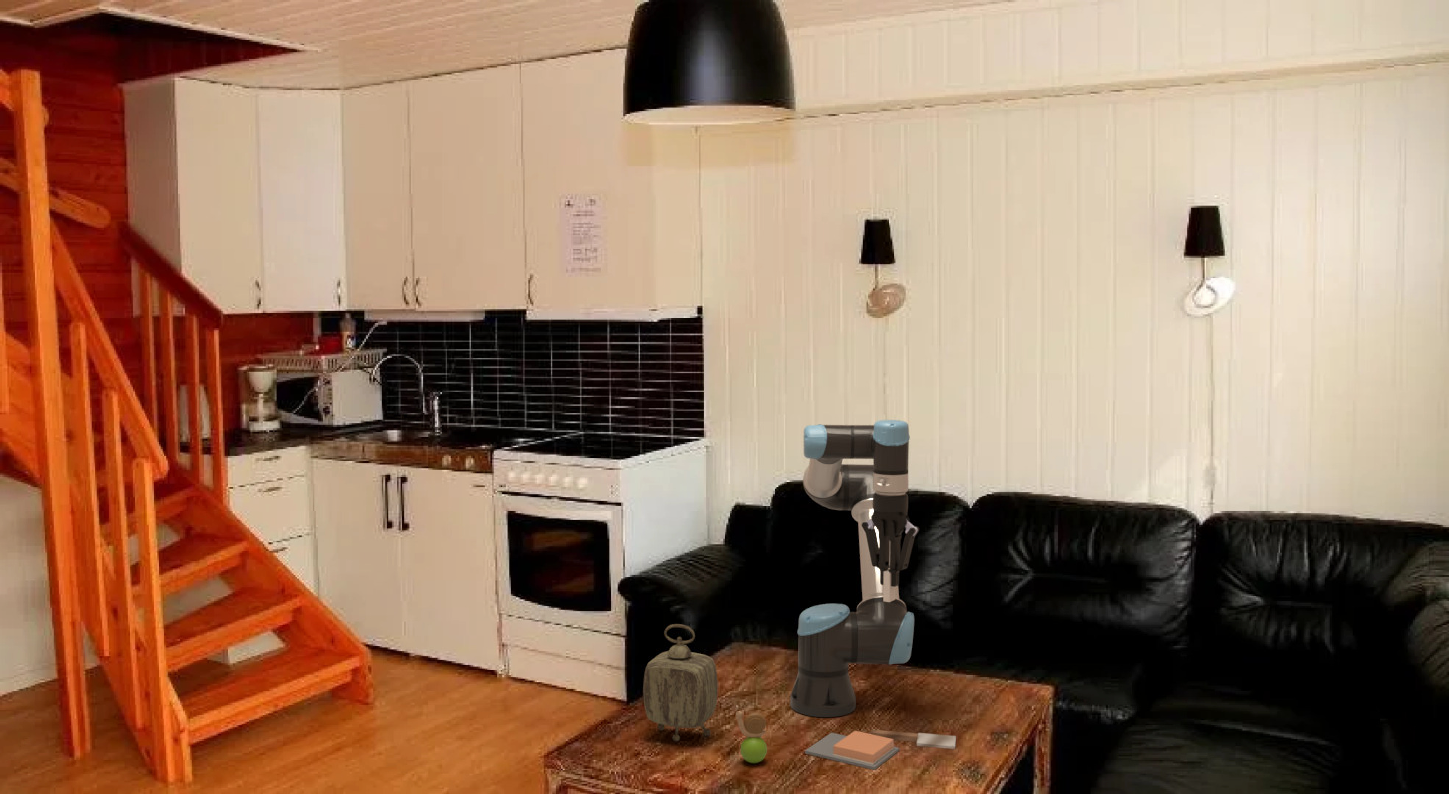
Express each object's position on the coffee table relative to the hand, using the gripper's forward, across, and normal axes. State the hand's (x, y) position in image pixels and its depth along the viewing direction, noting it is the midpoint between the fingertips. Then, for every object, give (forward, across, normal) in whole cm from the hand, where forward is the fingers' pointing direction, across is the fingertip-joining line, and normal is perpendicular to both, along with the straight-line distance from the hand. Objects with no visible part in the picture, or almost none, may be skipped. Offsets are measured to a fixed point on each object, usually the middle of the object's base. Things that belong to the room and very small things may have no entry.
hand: (889, 600), depth 260 cm
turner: (+30, +6, -1) cm, 30 cm away
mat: (+30, -1, -14) cm, 33 cm away
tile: (+28, -3, -14) cm, 31 cm away
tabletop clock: (+30, -35, -29) cm, 54 cm away
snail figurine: (+30, -15, -31) cm, 45 cm away
